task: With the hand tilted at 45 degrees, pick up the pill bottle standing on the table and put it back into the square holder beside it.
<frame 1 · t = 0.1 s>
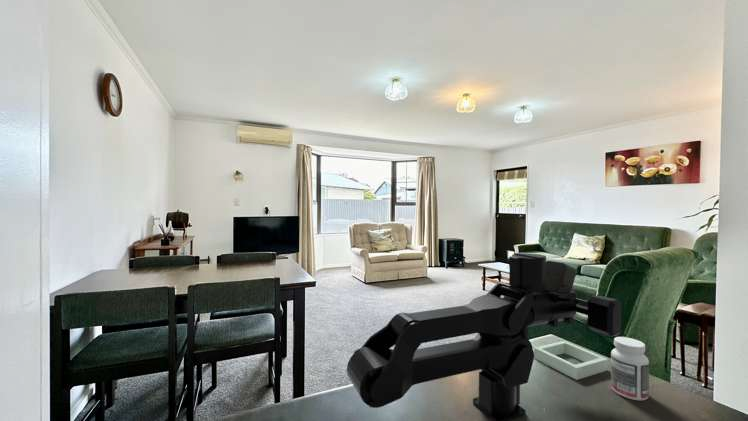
hand: (593, 299, 65), 17 cm above the table, tool horizontal, fingers open, 9 cm apart
bottle holder: (569, 364, 72), on the table
pill bottle: (629, 393, 61), on the table
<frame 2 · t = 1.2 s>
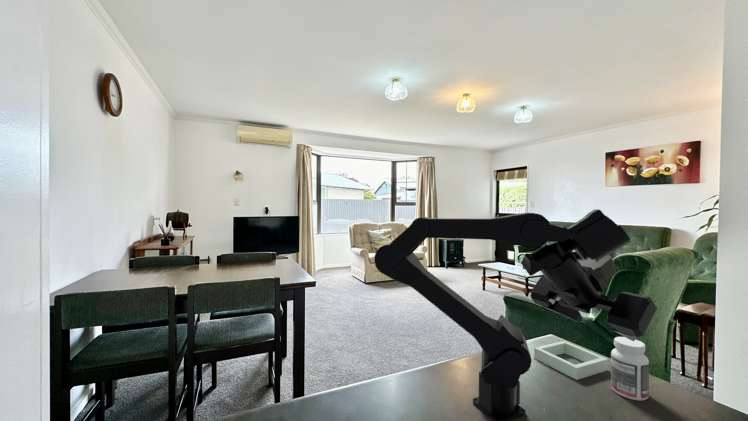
hand: (605, 328, 58), 13 cm above the table, tool tilted 45°, fingers open, 9 cm apart
nothing on the table moved.
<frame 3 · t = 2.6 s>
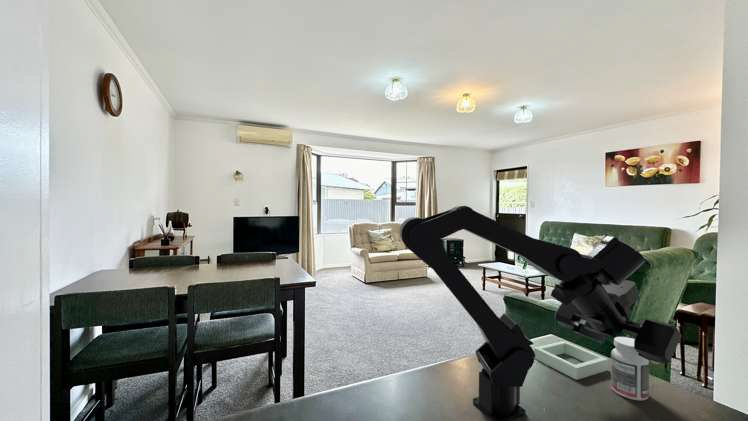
hand: (628, 351, 60), 8 cm above the table, tool tilted 45°, fingers open, 9 cm apart
nothing on the table moved.
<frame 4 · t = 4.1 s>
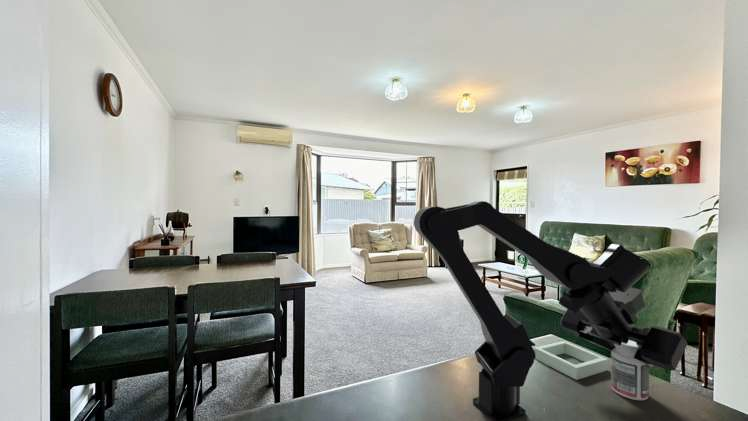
hand: (634, 357, 61), 7 cm above the table, tool tilted 45°, fingers closed on pill bottle, 6 cm apart
pill bottle: (629, 393, 61), on the table, touching gripper
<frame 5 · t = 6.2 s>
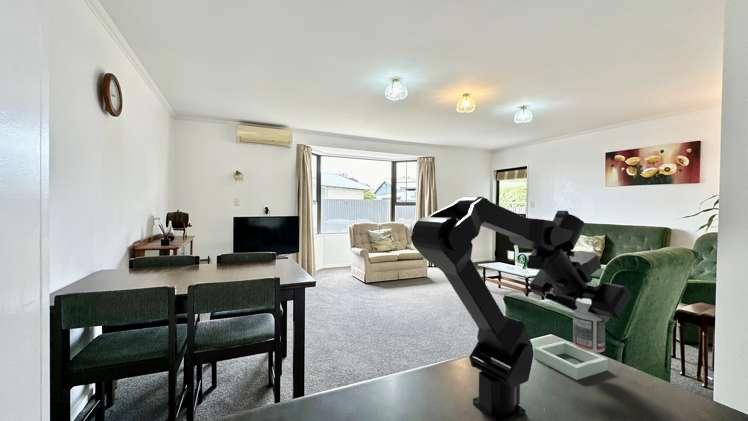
hand: (593, 315, 68), 12 cm above the table, tool tilted 45°, fingers closed on pill bottle, 6 cm apart
pill bottle: (588, 348, 68), point 5 cm above the table, touching gripper
when the fingers open (7 cm above the table, at t = 8.6 s): pill bottle stays where it is, on the table.
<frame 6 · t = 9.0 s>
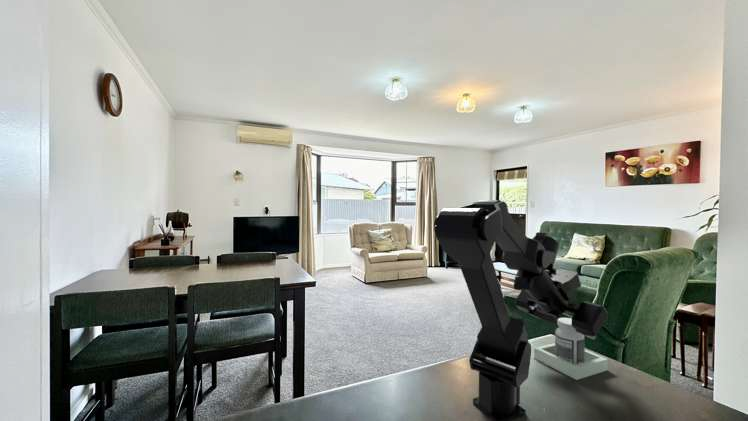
hand: (573, 330, 72), 8 cm above the table, tool tilted 45°, fingers open, 9 cm apart
pill bottle: (569, 365, 72), on the table
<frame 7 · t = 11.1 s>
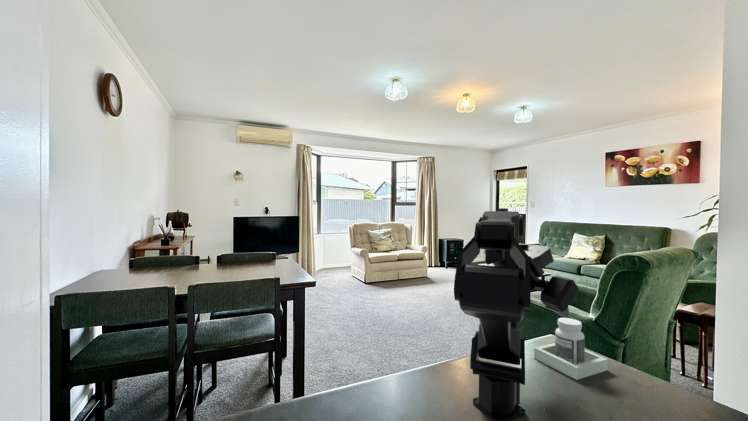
hand: (547, 309, 69), 14 cm above the table, tool tilted 45°, fingers open, 9 cm apart
nothing on the table moved.
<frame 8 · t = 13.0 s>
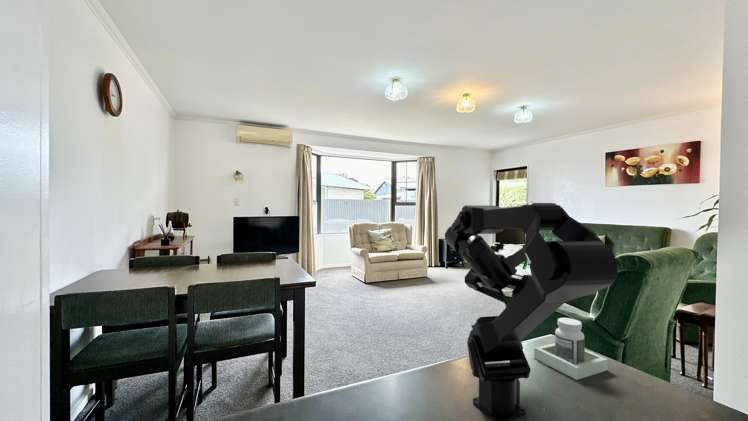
hand: (521, 306, 70), 14 cm above the table, tool tilted 45°, fingers open, 9 cm apart
nothing on the table moved.
at the end: pill bottle 0.2 cm off-centre on the bottle holder, point 0.0 cm above the bottle holder's base; pill bottle tilted 0°; the gripper is holding nothing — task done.
